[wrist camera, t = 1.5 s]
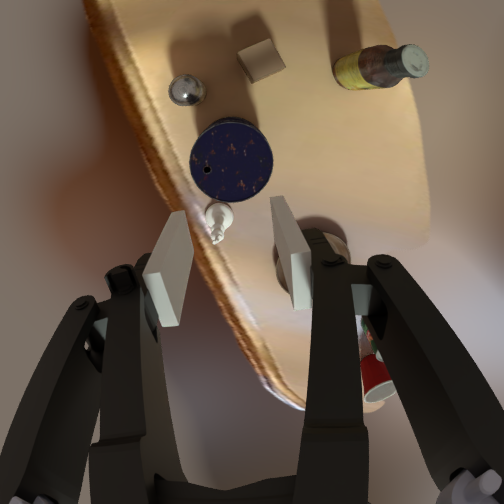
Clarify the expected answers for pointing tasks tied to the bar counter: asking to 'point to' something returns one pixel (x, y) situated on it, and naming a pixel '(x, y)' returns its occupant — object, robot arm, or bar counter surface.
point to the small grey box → (260, 60)
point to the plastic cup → (376, 380)
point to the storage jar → (231, 160)
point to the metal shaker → (187, 90)
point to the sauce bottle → (380, 67)
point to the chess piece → (218, 220)
